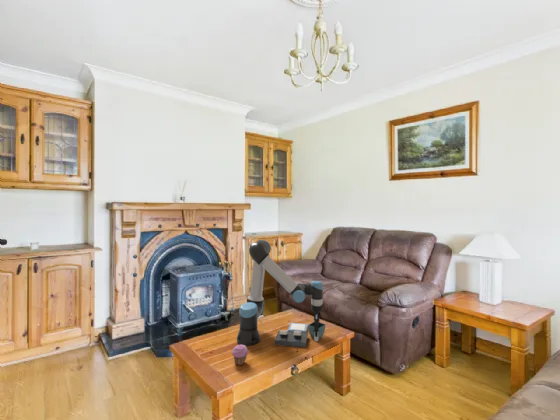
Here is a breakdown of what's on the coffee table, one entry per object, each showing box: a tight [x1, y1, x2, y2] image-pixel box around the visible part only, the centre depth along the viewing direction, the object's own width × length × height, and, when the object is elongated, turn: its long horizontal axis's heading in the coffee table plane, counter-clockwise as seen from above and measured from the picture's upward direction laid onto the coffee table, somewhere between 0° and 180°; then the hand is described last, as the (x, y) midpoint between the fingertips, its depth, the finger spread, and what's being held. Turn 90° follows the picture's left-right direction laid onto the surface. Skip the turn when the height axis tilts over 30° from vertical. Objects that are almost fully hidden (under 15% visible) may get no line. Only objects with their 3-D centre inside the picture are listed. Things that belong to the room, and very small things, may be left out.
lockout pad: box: [287, 322, 309, 333], centre depth 219 cm, size 13×13×2 cm
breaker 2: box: [294, 331, 302, 336], centre depth 199 cm, size 4×8×2 cm, turn 170°
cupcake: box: [231, 344, 249, 366], centre depth 172 cm, size 9×9×10 cm
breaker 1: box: [279, 329, 288, 335], centre depth 200 cm, size 4×8×2 cm, turn 170°
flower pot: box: [307, 320, 326, 341], centre depth 205 cm, size 9×9×9 cm
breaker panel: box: [274, 330, 309, 348], centre depth 200 cm, size 20×14×4 cm
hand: (316, 337), depth 205 cm, fingers closed on flower pot, 10 cm apart
